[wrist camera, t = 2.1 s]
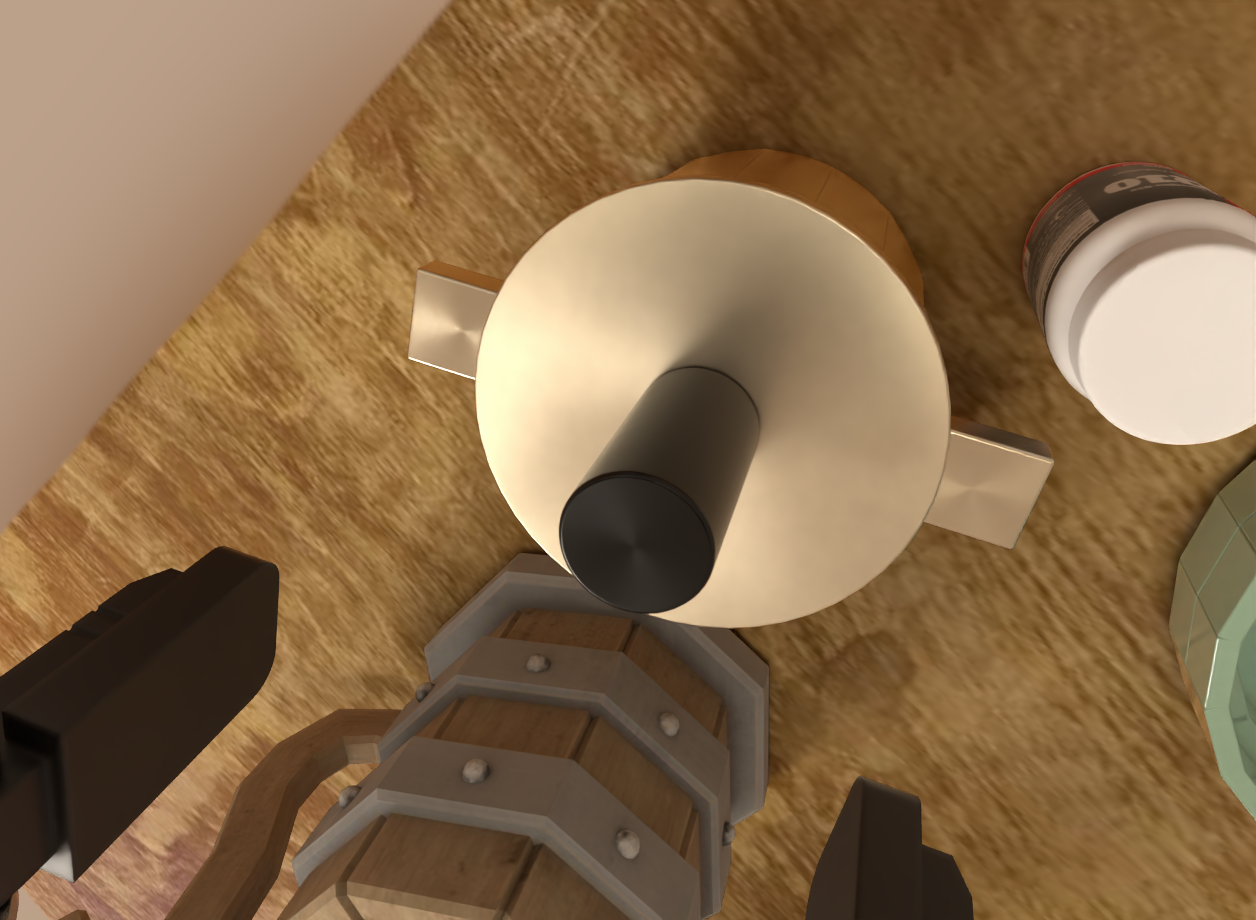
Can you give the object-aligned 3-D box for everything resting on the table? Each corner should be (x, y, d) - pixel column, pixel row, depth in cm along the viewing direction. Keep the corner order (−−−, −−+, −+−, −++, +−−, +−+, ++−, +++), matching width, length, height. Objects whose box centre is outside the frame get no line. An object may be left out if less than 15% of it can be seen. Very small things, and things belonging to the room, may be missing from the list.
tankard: (769, 570, 32) (669, 957, 19) (769, 851, 37) (689, 1307, 24) (257, 526, 37) (-100, 804, 24) (318, 777, 42) (52, 1119, 29)
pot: (545, 86, 27) (418, 110, 20) (1078, 228, 25) (1141, 310, 18) (496, 391, 32) (379, 496, 25) (944, 533, 30) (954, 692, 23)
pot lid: (529, 113, 20) (378, 151, 15) (1030, 248, 19) (1081, 351, 13) (465, 526, 25) (333, 677, 20) (858, 660, 24) (840, 866, 18)
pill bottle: (1257, 197, 24) (1410, 278, 17) (1153, 363, 26) (1246, 498, 19) (1075, 132, 24) (1145, 182, 17) (988, 300, 27) (1016, 408, 19)
